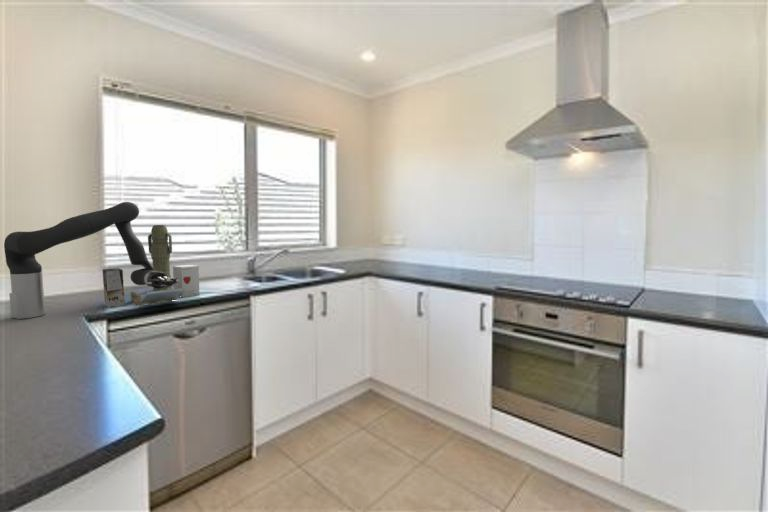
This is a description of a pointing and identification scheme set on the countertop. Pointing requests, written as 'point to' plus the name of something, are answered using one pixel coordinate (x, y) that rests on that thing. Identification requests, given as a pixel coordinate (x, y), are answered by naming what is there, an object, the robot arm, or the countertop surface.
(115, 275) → the coffee box
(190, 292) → the supplement box
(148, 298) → the panel
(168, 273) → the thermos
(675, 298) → the countertop surface
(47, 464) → the countertop surface
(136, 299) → the flatbed
